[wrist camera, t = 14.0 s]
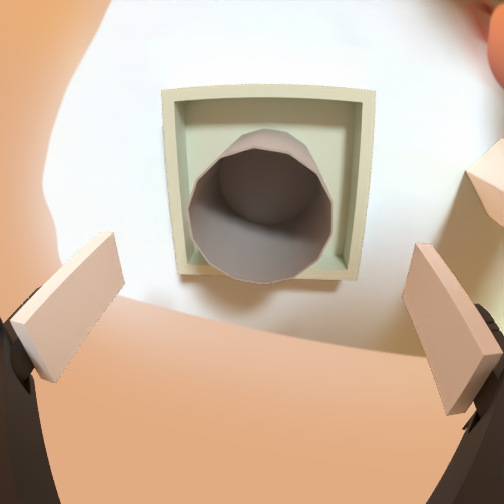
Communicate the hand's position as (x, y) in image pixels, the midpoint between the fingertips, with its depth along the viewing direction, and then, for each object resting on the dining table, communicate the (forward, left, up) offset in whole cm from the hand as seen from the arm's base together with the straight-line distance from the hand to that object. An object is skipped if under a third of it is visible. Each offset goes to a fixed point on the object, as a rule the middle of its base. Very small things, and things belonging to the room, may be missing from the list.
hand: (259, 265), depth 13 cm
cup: (0, 0, -16) cm, 15 cm away
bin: (0, 0, -16) cm, 16 cm away
